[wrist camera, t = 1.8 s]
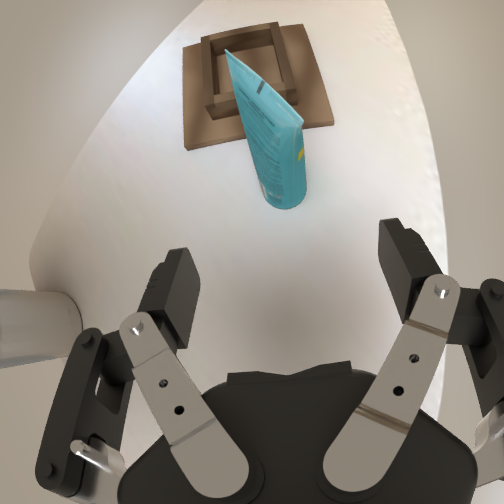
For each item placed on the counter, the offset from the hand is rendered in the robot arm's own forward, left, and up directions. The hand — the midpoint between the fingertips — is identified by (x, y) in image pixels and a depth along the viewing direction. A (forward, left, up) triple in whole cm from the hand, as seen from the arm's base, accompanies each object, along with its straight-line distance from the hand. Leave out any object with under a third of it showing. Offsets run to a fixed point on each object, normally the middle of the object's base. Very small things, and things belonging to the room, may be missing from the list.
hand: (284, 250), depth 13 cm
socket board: (-2, +26, -21) cm, 33 cm away
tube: (0, +10, -21) cm, 23 cm away
